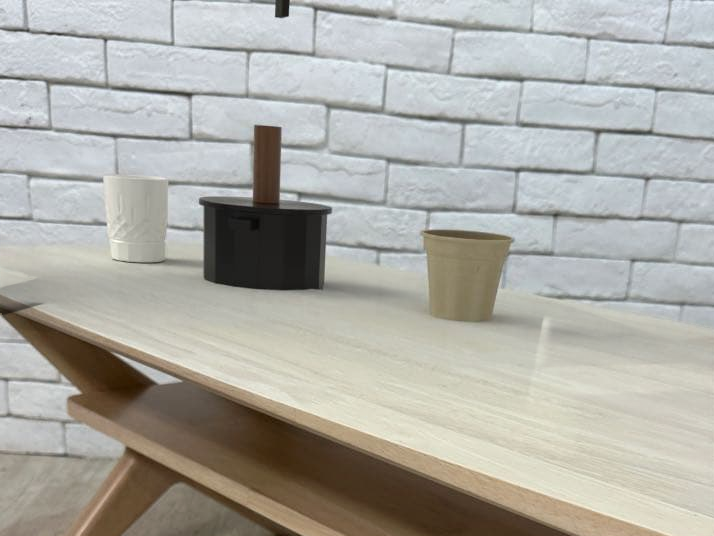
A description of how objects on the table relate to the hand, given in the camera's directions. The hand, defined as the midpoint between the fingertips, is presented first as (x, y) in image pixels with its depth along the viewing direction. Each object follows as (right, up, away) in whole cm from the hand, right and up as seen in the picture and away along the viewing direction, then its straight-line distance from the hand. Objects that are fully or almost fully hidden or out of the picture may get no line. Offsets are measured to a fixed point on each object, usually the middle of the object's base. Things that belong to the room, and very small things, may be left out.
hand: (216, 7), depth 100 cm
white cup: (-15, -18, +28) cm, 36 cm away
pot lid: (+3, -16, +12) cm, 20 cm away
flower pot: (+25, -31, +2) cm, 40 cm away
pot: (+3, -24, +15) cm, 28 cm away
